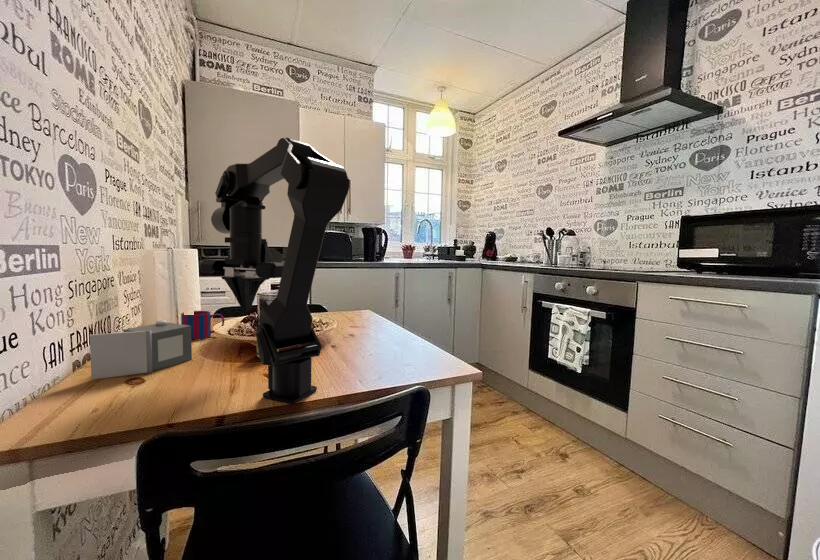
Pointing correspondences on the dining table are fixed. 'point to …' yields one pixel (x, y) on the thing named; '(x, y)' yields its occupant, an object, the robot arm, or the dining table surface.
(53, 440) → the dining table surface
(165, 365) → the camera body
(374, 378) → the dining table surface
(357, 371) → the dining table surface
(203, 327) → the mug
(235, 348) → the dining table surface
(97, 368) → the side door
